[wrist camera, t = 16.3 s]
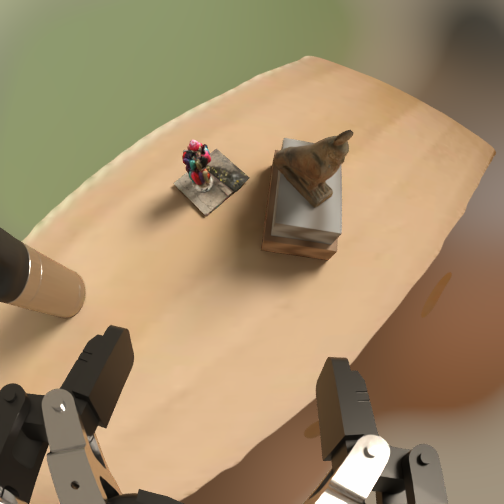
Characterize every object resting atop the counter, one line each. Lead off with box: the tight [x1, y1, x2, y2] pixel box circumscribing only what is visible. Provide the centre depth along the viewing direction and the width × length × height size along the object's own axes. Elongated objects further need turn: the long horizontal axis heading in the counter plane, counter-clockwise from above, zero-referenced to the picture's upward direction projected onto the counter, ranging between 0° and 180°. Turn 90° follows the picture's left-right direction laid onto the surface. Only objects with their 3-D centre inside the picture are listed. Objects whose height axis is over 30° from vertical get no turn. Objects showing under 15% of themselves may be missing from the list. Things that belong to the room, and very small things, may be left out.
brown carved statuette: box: [273, 130, 353, 207], centre depth 37 cm, size 11×5×16 cm, turn 32°
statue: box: [174, 140, 249, 217], centre depth 47 cm, size 11×9×15 cm
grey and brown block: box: [261, 138, 342, 260], centre depth 48 cm, size 12×18×10 cm, turn 172°
